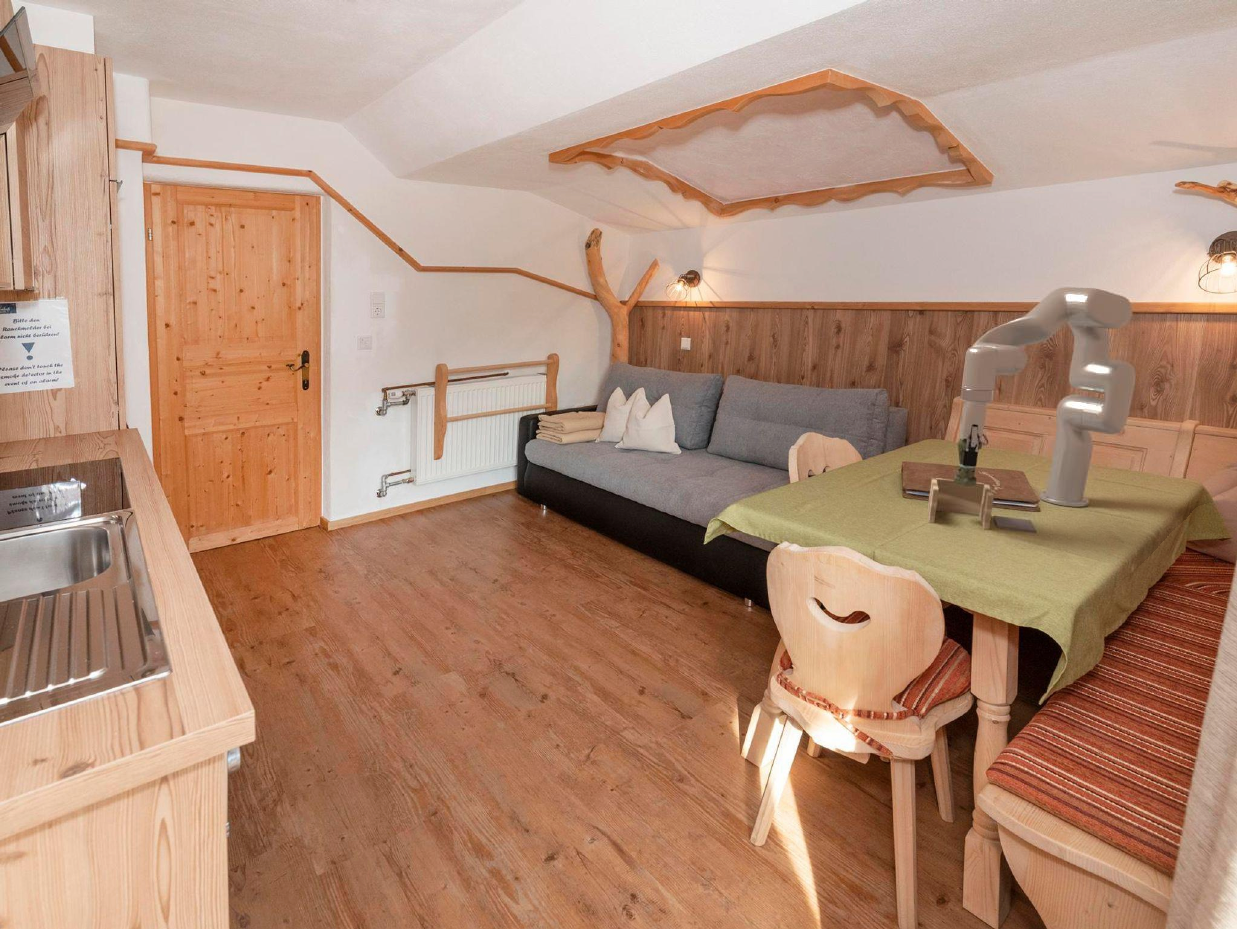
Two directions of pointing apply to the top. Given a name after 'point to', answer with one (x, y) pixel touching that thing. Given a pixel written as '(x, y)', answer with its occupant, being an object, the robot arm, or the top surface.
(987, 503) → the light wood u-shaped frame
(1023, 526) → the coaster
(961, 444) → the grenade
